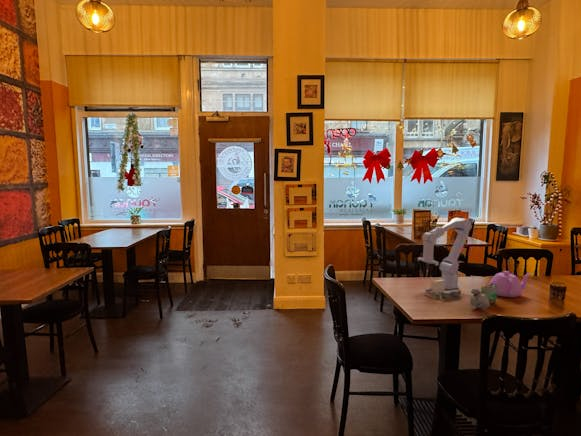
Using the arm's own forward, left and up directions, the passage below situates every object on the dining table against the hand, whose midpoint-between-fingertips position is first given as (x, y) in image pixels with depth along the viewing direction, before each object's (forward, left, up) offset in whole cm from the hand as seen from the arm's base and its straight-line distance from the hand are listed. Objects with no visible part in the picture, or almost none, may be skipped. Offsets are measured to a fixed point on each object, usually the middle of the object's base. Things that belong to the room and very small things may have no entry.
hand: (427, 274), depth 231 cm
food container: (-12, +34, -10) cm, 37 cm away
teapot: (-37, +28, -10) cm, 47 cm away
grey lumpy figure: (+3, +38, -10) cm, 39 cm away
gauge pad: (+2, +8, -9) cm, 12 cm away
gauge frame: (0, +12, -9) cm, 15 cm away
